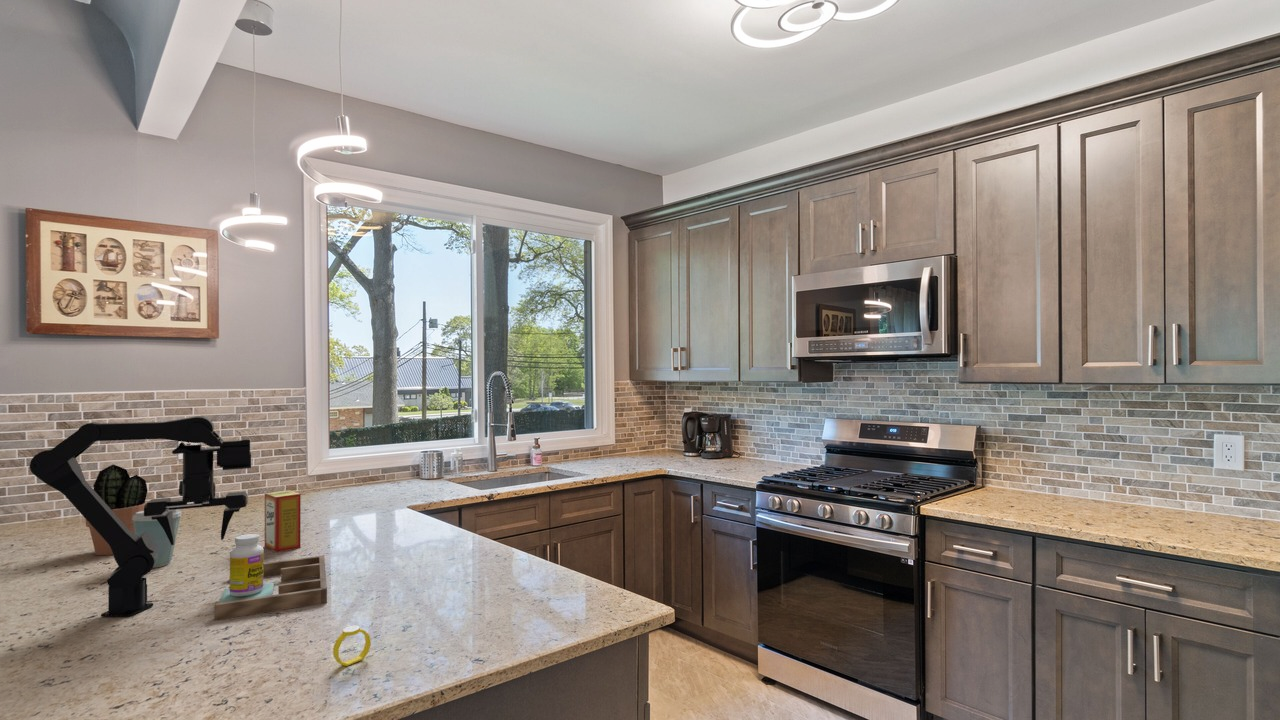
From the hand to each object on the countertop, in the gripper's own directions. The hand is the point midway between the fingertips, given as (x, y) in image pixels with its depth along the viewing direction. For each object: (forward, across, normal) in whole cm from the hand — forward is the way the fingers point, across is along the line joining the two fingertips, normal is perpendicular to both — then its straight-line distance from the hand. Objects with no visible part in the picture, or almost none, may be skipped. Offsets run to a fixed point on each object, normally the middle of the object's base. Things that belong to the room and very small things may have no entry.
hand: (198, 542), depth 144 cm
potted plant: (+13, +28, -62) cm, 69 cm away
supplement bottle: (+13, -9, +1) cm, 16 cm away
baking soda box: (+13, -15, -42) cm, 47 cm away
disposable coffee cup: (+13, +14, -39) cm, 43 cm away
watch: (+13, -29, +51) cm, 60 cm away
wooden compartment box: (+13, -15, +1) cm, 20 cm away
